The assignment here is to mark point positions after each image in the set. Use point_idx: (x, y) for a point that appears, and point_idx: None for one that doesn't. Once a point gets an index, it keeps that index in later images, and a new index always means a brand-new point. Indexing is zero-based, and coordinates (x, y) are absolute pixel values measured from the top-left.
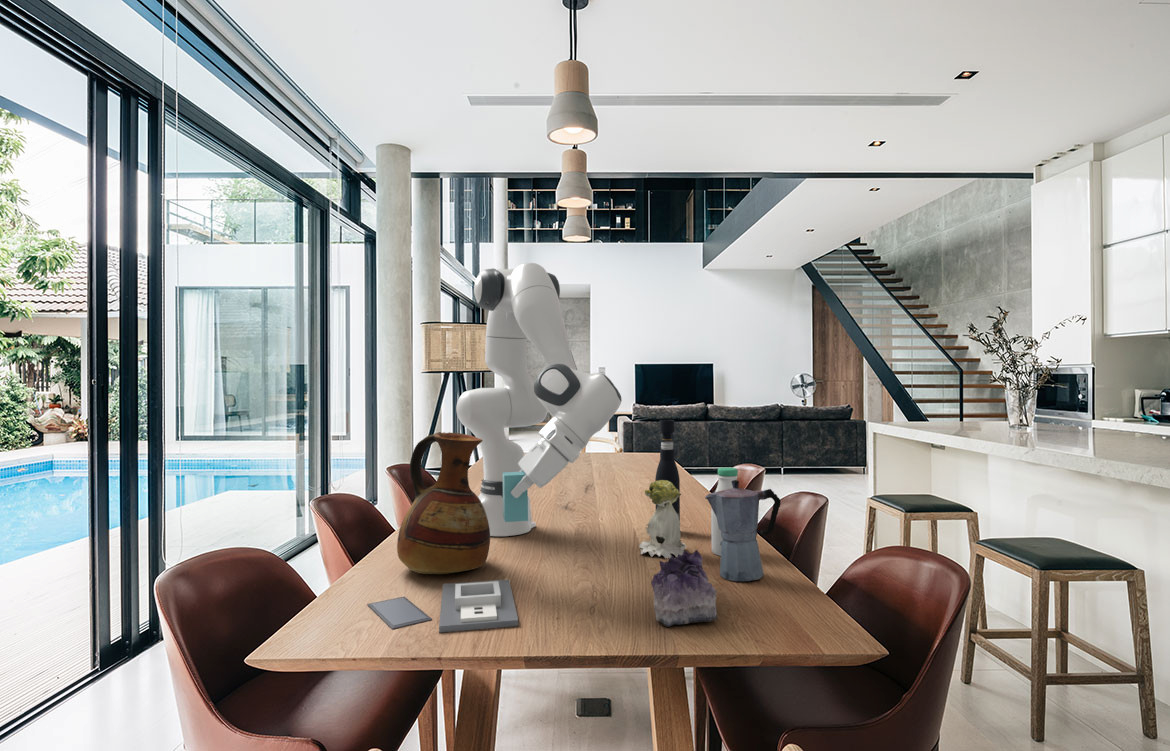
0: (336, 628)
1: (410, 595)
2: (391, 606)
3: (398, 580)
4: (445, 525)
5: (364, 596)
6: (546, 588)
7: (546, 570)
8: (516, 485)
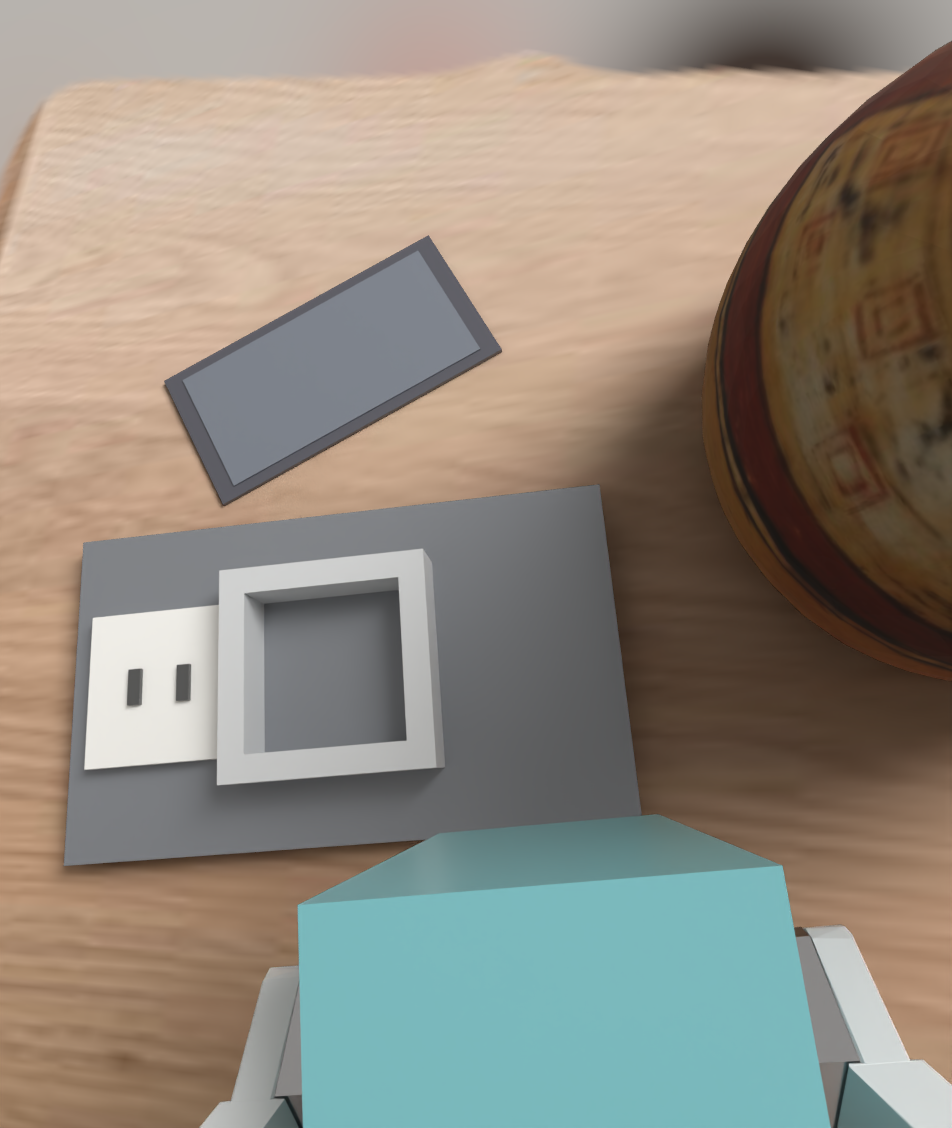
0: (220, 208)
1: (525, 370)
2: (382, 327)
3: None
4: (783, 340)
5: (535, 201)
6: None
7: None
8: (249, 1104)
